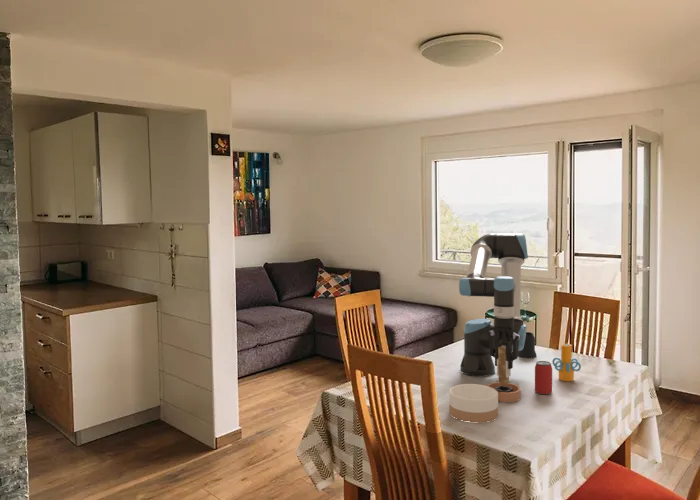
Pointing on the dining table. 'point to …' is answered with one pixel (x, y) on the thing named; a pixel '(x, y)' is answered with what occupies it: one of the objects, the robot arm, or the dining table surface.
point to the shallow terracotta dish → (505, 395)
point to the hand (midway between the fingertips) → (503, 375)
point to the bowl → (473, 402)
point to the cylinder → (566, 363)
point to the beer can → (543, 377)
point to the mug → (528, 347)
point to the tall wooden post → (502, 365)
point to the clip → (504, 389)
